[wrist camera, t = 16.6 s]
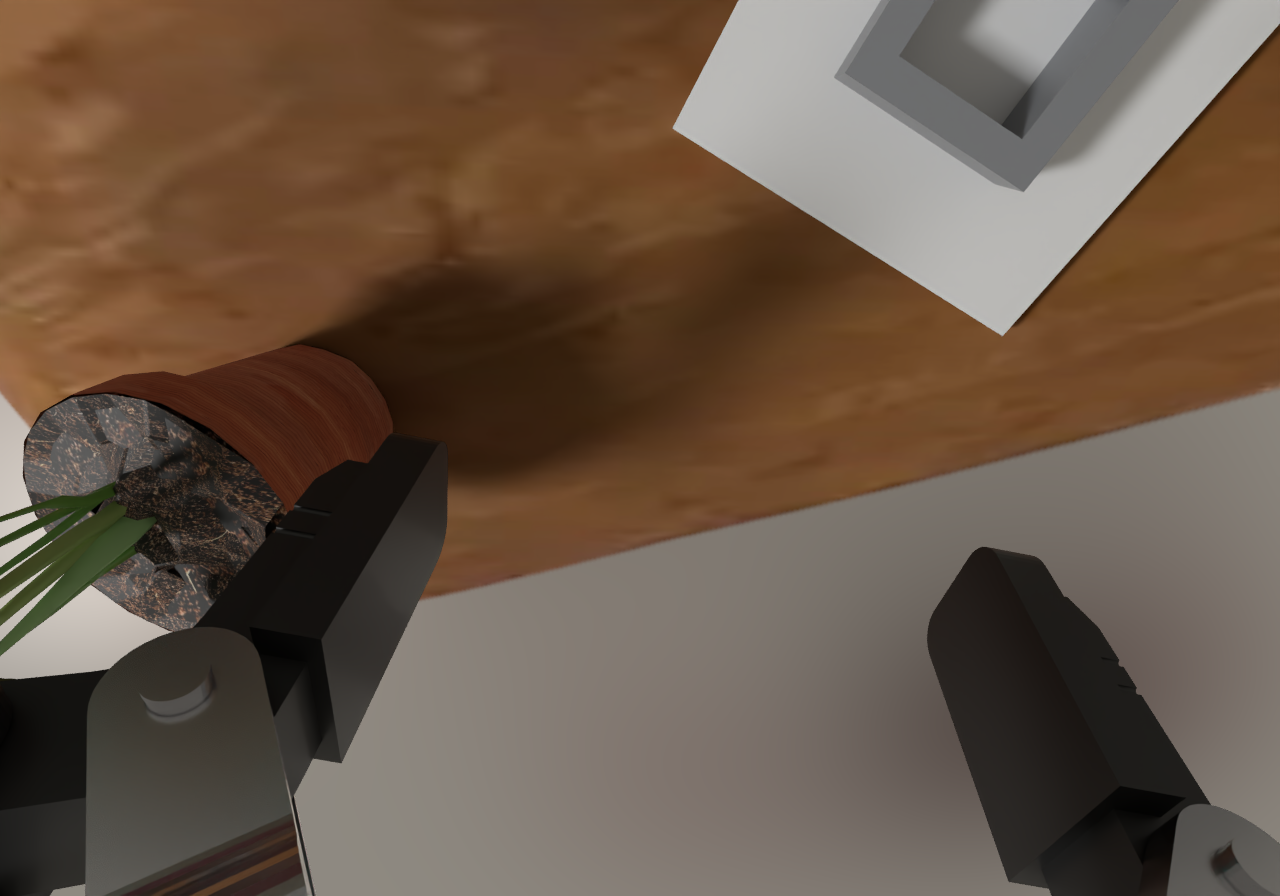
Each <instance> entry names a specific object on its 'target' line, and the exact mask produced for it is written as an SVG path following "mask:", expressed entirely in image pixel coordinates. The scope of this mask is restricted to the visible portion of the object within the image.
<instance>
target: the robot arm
mask: <svg viewBox="0 0 1280 896" xmlns="http://www.w3.org/2000/svg"><path fill="white" fill-rule="evenodd" d="M447 487H448V451H447V446H446V443H445V442H442V441H436V440H431V439H426V438H421V437H415V436H410V435H405V434H400V433H391V434H390V435H388V437H387V438H386V439H385V440H384V442H383V443H382V445H381V446H380V447H379V449H378V450H377V451H376V453H375V454H374V456H373V457H372V458H371V460H370V461H369V462H368V463H363V462H358V461H353V460H346V461H344V462H343V463H341V464H339V465H338V466H336V467H334V468H333V469H331V470H329V471H328V472H326V473H324V474H322V475H321V476H319V477H317V478H316V479H315V480H314V481H313V482H312V483H311V484H310V486H309V487H308V488H307V489H306V491H305V492H304V493H303V494H302V496H301V497H300V498H299V499H298V500H297V502H296V503H295V504H294V508H293V510H289V511H288V513H287V514H286V515H285V516H284V518H283V519H282V520H281V521H280V523H279V524H278V525H277V526H276V531H275V533H272V532H271V534H270V535H269V536H268V537H267V538H266V540H265V541H264V542H263V543H262V545H261V546H260V547H259V548H258V550H257V551H256V552H255V553H254V554H253V556H252V557H251V558H250V559H249V561H248V562H247V563H246V564H245V565H244V567H243V568H242V569H241V570H240V572H239V573H238V574H237V575H236V577H235V578H234V579H233V580H232V581H231V583H230V584H229V585H228V586H227V588H226V589H225V590H224V591H223V592H222V594H221V595H220V596H219V597H218V599H217V600H216V601H215V602H214V604H213V605H212V606H211V607H210V608H209V610H208V611H207V612H206V613H205V615H204V616H203V617H202V618H201V619H200V620H199V621H198V623H197V624H196V625H195V626H194V627H193V628H188V629H183V630H179V631H175V632H171V633H168V634H165V635H162V636H159V637H157V638H155V639H153V640H151V641H148V642H146V643H144V644H142V645H141V646H139V647H137V648H136V649H134V650H132V651H131V652H129V653H128V654H127V655H125V656H124V657H122V658H121V659H120V660H119V661H118V662H117V663H115V664H114V665H113V666H112V667H111V668H110V669H107V670H100V671H94V672H85V673H75V674H65V675H55V676H45V677H35V678H25V679H16V680H6V681H0V896H50V894H51V893H52V891H53V890H55V889H60V888H66V887H71V886H77V885H82V884H85V885H86V886H85V896H316V892H315V888H314V883H313V878H312V874H311V869H310V865H309V860H308V856H307V851H306V846H305V841H304V837H303V832H302V828H301V823H300V818H299V814H298V809H297V804H296V800H295V795H294V794H295V792H296V790H297V788H298V786H299V784H300V783H301V781H302V779H303V777H304V775H305V773H306V771H307V769H308V767H309V765H310V763H311V761H312V759H313V758H314V759H320V760H326V761H331V762H338V763H342V761H343V759H344V757H345V755H346V752H347V750H348V748H349V746H350V744H351V742H352V740H353V738H354V735H355V734H356V731H357V729H358V727H359V725H360V723H361V721H362V719H363V717H364V715H365V713H366V710H367V708H368V706H369V704H370V702H371V700H372V698H373V696H374V694H375V691H376V689H377V687H378V685H379V683H380V681H381V679H382V677H383V675H384V673H385V670H386V668H387V666H388V664H389V662H390V660H391V658H392V656H393V653H394V652H395V649H396V647H397V645H398V643H399V641H400V639H401V637H402V635H403V633H404V631H405V628H406V626H407V624H408V622H409V620H410V618H411V616H412V613H413V612H414V609H415V607H416V605H417V603H418V601H419V599H420V597H421V595H422V593H423V591H424V588H425V586H426V584H427V582H428V580H429V578H430V576H431V574H432V572H433V570H434V567H435V565H436V563H437V561H438V559H439V556H440V553H441V550H442V547H443V543H444V539H445V534H446V527H447ZM927 643H928V650H929V654H930V657H931V660H932V663H933V666H934V669H935V672H936V675H937V677H938V680H939V683H940V686H941V689H942V691H943V695H944V697H945V700H946V703H947V706H948V709H949V712H950V714H951V718H952V720H953V723H954V726H955V729H956V732H957V734H958V738H959V741H960V743H961V746H962V749H963V752H964V755H965V758H966V761H967V764H968V766H969V769H970V772H971V775H972V778H973V781H974V783H975V787H976V789H977V792H978V795H979V798H980V801H981V804H982V807H983V809H984V812H985V815H986V818H987V821H988V824H989V827H990V829H991V832H992V835H993V838H994V841H995V844H996V847H997V850H998V852H999V855H1000V858H1001V861H1002V864H1003V867H1004V870H1005V872H1006V876H1007V878H1008V881H1009V882H1014V883H1019V884H1025V885H1031V886H1036V887H1042V888H1048V889H1049V890H1050V893H1051V895H1052V896H1280V844H1279V843H1278V842H1277V841H1276V840H1275V839H1273V838H1272V837H1271V836H1270V835H1268V834H1267V833H1266V832H1264V831H1263V830H1261V829H1260V828H1259V827H1257V826H1256V825H1254V824H1253V823H1251V822H1249V821H1248V820H1246V819H1244V818H1243V817H1241V816H1239V815H1237V814H1235V813H1232V812H1231V811H1228V810H1226V809H1223V808H1220V807H1217V806H1212V805H1211V804H1210V803H1209V801H1208V800H1207V798H1206V796H1205V795H1204V793H1203V792H1202V790H1201V789H1200V787H1199V785H1198V784H1197V782H1196V781H1195V779H1194V777H1193V776H1192V774H1191V773H1190V771H1189V770H1188V768H1187V767H1186V765H1185V763H1184V762H1183V760H1182V758H1181V757H1180V755H1179V754H1178V752H1177V751H1176V749H1175V747H1174V746H1173V744H1172V743H1171V741H1170V740H1169V738H1168V736H1167V735H1166V733H1165V732H1164V730H1163V728H1162V727H1161V726H1160V724H1159V722H1158V721H1157V719H1156V717H1155V716H1154V714H1153V713H1152V711H1151V710H1150V708H1149V706H1148V705H1147V703H1146V702H1145V700H1144V699H1143V697H1142V695H1138V694H1136V686H1135V684H1134V683H1133V681H1132V680H1131V678H1130V677H1129V675H1128V673H1127V672H1126V670H1125V669H1124V667H1120V666H1119V665H1118V662H1119V659H1118V657H1117V656H1116V654H1115V653H1114V651H1113V650H1112V648H1111V646H1110V645H1109V643H1108V642H1107V640H1106V639H1105V637H1104V635H1103V634H1102V632H1101V631H1100V629H1099V628H1098V627H1097V626H1096V625H1095V624H1094V623H1093V622H1092V621H1091V620H1090V619H1089V618H1088V617H1087V616H1086V615H1085V614H1084V613H1083V612H1082V611H1081V610H1080V609H1079V608H1078V607H1077V606H1076V605H1075V604H1074V603H1073V602H1072V601H1070V599H1069V598H1068V597H1064V596H1063V594H1062V592H1061V591H1060V589H1059V588H1058V586H1057V584H1056V583H1055V581H1054V580H1053V578H1052V576H1051V574H1050V573H1049V571H1048V569H1047V568H1046V566H1045V565H1044V564H1043V562H1042V561H1041V560H1040V559H1038V558H1037V557H1035V556H1031V555H1025V554H1020V553H1015V552H1009V551H1004V550H999V549H994V548H988V547H981V548H978V549H977V550H975V551H974V552H973V553H972V554H971V555H970V557H969V558H968V560H967V561H966V563H965V564H964V566H963V567H962V569H961V571H960V572H959V574H958V575H957V577H956V578H955V580H954V581H953V583H952V585H951V586H950V588H949V589H948V590H947V592H946V594H945V595H944V597H943V598H942V600H941V601H940V603H939V604H938V606H937V607H936V609H935V611H934V612H933V614H932V616H931V619H930V622H929V626H928V634H927Z"/></svg>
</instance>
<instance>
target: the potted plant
mask: <svg viewBox="0 0 1280 896" xmlns="http://www.w3.org/2000/svg"><path fill="white" fill-rule="evenodd" d="M391 433H393V421H392V418H391V415H390V412H389V409H388V406H387V403H386V400H385V399H384V397H383V396H382V394H381V393H380V391H379V390H378V388H377V387H376V385H375V384H374V382H373V381H372V379H371V378H370V377H369V376H368V375H366V374H365V373H364V372H363V371H362V370H361V369H360V368H359V367H358V366H357V365H355V364H354V363H353V362H352V361H351V360H348V359H346V358H343V357H341V356H339V355H336V354H334V353H331V352H329V351H326V350H323V349H319V348H314V347H310V346H306V345H301V344H298V345H294V346H289V347H285V348H280V349H276V350H272V351H269V352H265V353H262V354H259V355H255V356H252V357H248V358H245V359H242V360H238V361H235V362H231V363H228V364H225V365H221V366H218V367H214V368H211V369H208V370H204V371H201V372H198V373H194V374H191V375H187V376H181V375H176V374H172V373H168V372H164V371H162V372H150V373H139V374H128V375H122V376H120V377H117V378H114V379H112V380H109V381H106V382H104V383H101V384H98V385H96V386H93V387H91V388H88V389H85V390H83V391H80V392H77V393H75V394H73V395H71V396H69V397H67V398H65V399H64V400H62V401H60V402H58V403H57V404H55V405H53V406H51V407H49V408H48V409H46V410H44V411H42V412H41V413H40V414H39V416H38V418H37V420H36V421H35V423H34V425H33V427H32V428H31V430H30V432H29V434H28V435H27V437H26V439H25V441H24V458H23V478H24V481H25V484H26V487H27V492H28V494H29V497H30V500H31V503H32V506H29V507H26V508H24V509H21V510H18V511H15V512H12V513H9V514H6V515H3V516H1V517H0V522H2V521H5V520H8V519H12V518H15V517H18V516H21V515H24V514H27V513H30V512H33V511H34V512H35V515H36V516H37V518H38V520H36V521H34V522H32V523H30V524H28V525H26V526H24V527H22V528H20V529H18V530H17V531H15V532H12V533H11V534H9V535H7V536H5V537H3V538H1V539H0V547H1V546H3V545H5V544H7V543H10V542H12V541H14V540H16V539H18V538H20V537H22V536H24V535H27V534H29V533H30V532H33V531H35V530H37V529H39V528H41V527H44V529H45V531H46V532H47V534H46V535H45V536H44V537H42V538H40V539H39V540H38V541H36V542H35V543H33V544H32V545H31V546H29V547H28V548H27V549H25V550H24V551H22V552H21V553H20V554H18V555H17V556H15V557H14V558H13V559H11V560H10V561H9V562H7V563H6V564H5V565H3V566H2V567H0V575H2V574H3V573H5V572H6V571H8V570H9V569H11V568H12V567H13V566H15V565H16V564H18V563H19V562H21V561H22V560H24V559H25V558H27V557H28V556H30V555H31V554H33V553H34V552H36V551H37V550H39V549H40V548H42V547H43V546H44V545H46V544H48V543H49V542H50V541H52V543H50V544H49V545H48V546H46V547H45V548H43V549H42V550H40V551H39V552H38V553H36V554H35V555H33V556H32V557H31V558H29V559H28V560H26V561H25V562H24V563H22V564H21V565H20V566H18V567H17V568H16V569H14V570H13V571H11V572H10V573H9V574H7V575H6V576H4V577H3V578H2V579H0V598H1V597H3V596H4V595H6V594H7V593H9V592H10V591H12V590H13V589H14V588H16V587H17V586H19V585H20V584H22V583H23V582H25V581H26V580H27V579H29V578H30V577H32V576H33V575H35V574H36V573H38V572H39V571H41V570H42V569H44V568H45V567H47V566H48V565H50V564H51V563H52V564H51V565H50V566H49V567H48V568H47V569H46V570H44V571H43V572H42V573H41V574H40V575H39V576H38V577H36V578H35V579H34V580H33V581H32V582H31V583H30V584H28V585H27V586H26V587H25V588H24V589H23V590H22V591H20V592H19V593H18V594H17V595H16V596H15V597H14V598H12V599H11V600H10V601H9V602H8V603H7V604H6V605H5V606H4V607H3V608H1V609H0V626H1V625H2V624H3V623H4V622H5V621H7V620H8V619H9V618H10V617H12V616H13V615H14V614H15V613H16V612H18V611H19V610H20V609H21V608H22V607H24V606H25V605H26V604H27V603H29V602H30V601H31V600H32V599H33V598H35V597H36V596H37V595H38V594H40V593H41V592H42V591H43V590H45V589H46V588H47V587H48V586H50V585H51V584H52V583H53V582H55V581H56V580H57V579H58V578H59V577H61V576H62V575H63V574H64V573H65V574H64V575H63V576H62V577H61V578H60V580H59V581H58V582H57V583H56V584H55V585H54V586H53V587H52V588H51V589H50V590H49V592H48V593H47V594H46V595H45V596H44V597H43V598H42V599H41V600H40V601H39V602H38V603H37V604H36V606H35V607H34V608H33V609H32V610H31V611H30V612H29V613H28V614H27V615H26V616H25V617H24V618H23V619H22V620H21V621H20V622H19V623H18V624H17V625H16V626H15V627H14V628H13V629H12V631H10V632H9V633H8V634H7V635H6V636H5V637H4V638H3V639H2V641H0V656H1V655H2V654H3V653H4V652H6V651H7V650H8V649H9V648H10V647H12V646H13V645H14V644H15V643H16V642H18V641H19V640H20V639H21V638H22V637H24V636H25V635H26V634H27V633H29V632H30V631H32V630H33V629H34V628H36V627H37V626H38V625H40V624H41V623H42V622H44V621H45V620H46V619H48V618H49V617H50V616H52V615H53V614H54V613H56V612H57V611H58V610H59V609H61V608H62V607H63V606H64V605H66V604H67V603H68V602H69V601H71V600H72V599H73V598H74V597H76V596H77V595H78V594H80V593H81V592H82V591H83V590H85V589H86V588H87V587H88V586H90V585H92V586H93V587H95V588H96V589H98V590H99V591H101V592H102V593H103V594H105V595H106V596H108V597H109V598H110V599H111V600H113V601H114V602H115V603H117V604H118V605H120V606H121V607H123V608H124V609H126V610H127V611H129V612H131V613H133V614H135V615H137V616H139V617H141V618H143V619H145V620H146V621H149V622H151V623H154V624H156V625H158V626H160V627H162V628H164V629H167V630H168V631H173V632H175V631H179V630H183V629H188V628H193V627H194V626H195V625H196V624H197V623H198V621H199V620H200V619H201V618H202V617H203V616H204V615H205V613H206V612H207V611H208V610H209V608H210V607H211V606H212V605H213V604H214V602H215V601H216V600H217V599H218V597H219V596H220V595H221V594H222V592H223V591H224V590H225V589H226V588H227V586H228V585H229V584H230V583H231V581H232V580H233V579H234V578H235V577H236V575H237V574H238V573H239V572H240V570H241V569H242V568H243V567H244V565H245V564H246V563H247V562H248V561H249V559H250V558H251V557H252V556H253V554H254V553H255V552H256V551H257V550H258V548H259V547H260V546H261V545H262V543H263V542H264V541H265V540H266V538H267V537H268V536H269V535H270V534H271V532H272V533H275V531H276V526H277V525H278V524H279V523H280V521H281V520H282V519H283V518H284V516H285V515H286V514H287V513H288V511H289V510H293V508H294V504H295V503H296V502H297V500H298V499H299V498H300V497H301V496H302V494H303V493H304V492H305V491H306V489H307V488H308V487H309V486H310V484H311V483H312V482H313V481H314V480H315V479H316V478H317V477H319V476H321V475H322V474H324V473H326V472H328V471H329V470H331V469H333V468H334V467H336V466H338V465H339V464H341V463H343V462H344V461H346V460H353V461H358V462H363V463H368V462H369V461H370V460H371V458H372V457H373V456H374V454H375V453H376V451H377V450H378V449H379V447H380V446H381V445H382V443H383V442H384V440H385V439H386V438H387V437H388V435H390V434H391ZM54 561H55V562H54ZM6 680H16V679H2V678H0V681H6Z"/></svg>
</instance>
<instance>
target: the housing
mask: <svg viewBox="0 0 1280 896" xmlns="http://www.w3.org/2000/svg"><path fill="white" fill-rule="evenodd" d="M1279 24H1280V0H739V1H738V3H737V5H736V7H735V9H734V10H733V12H732V14H731V16H730V18H729V20H728V22H727V24H726V26H725V28H724V30H723V32H722V34H721V36H720V38H719V39H718V41H717V43H716V45H715V47H714V49H713V51H712V53H711V55H710V57H709V59H708V61H707V63H706V65H705V67H704V68H703V70H702V72H701V74H700V76H699V78H698V80H697V82H696V84H695V86H694V88H693V90H692V92H691V94H690V96H689V98H688V99H687V101H686V103H685V105H684V107H683V109H682V111H681V113H680V115H679V117H678V119H677V121H676V123H675V125H674V127H673V129H674V130H676V131H677V132H679V133H681V134H682V135H684V136H685V137H687V138H689V139H690V140H692V141H693V142H695V143H696V144H698V145H700V146H701V147H703V148H704V149H706V150H708V151H709V152H711V153H712V154H714V155H716V156H717V157H719V158H720V159H722V160H724V161H725V162H727V163H728V164H730V165H731V166H733V167H735V168H736V169H738V170H739V171H741V172H743V173H744V174H746V175H747V176H749V177H751V178H752V179H754V180H755V181H757V182H758V183H760V184H762V185H763V186H765V187H766V188H768V189H770V190H771V191H773V192H774V193H776V194H778V195H779V196H781V197H782V198H784V199H786V200H787V201H789V202H790V203H792V204H793V205H795V206H797V207H798V208H800V209H801V210H803V211H805V212H806V213H808V214H809V215H811V216H813V217H814V218H816V219H817V220H819V221H820V222H822V223H824V224H825V225H827V226H828V227H830V228H832V229H833V230H835V231H836V232H838V233H840V234H841V235H843V236H844V237H846V238H847V239H849V240H851V241H852V242H854V243H855V244H857V245H859V246H860V247H862V248H863V249H865V250H867V251H868V252H870V253H871V254H873V255H875V256H876V257H878V258H879V259H881V260H882V261H884V262H886V263H887V264H889V265H890V266H892V267H894V268H895V269H897V270H898V271H900V272H902V273H903V274H905V275H906V276H908V277H909V278H911V279H913V280H914V281H916V282H917V283H919V284H921V285H922V286H924V287H925V288H927V289H929V290H930V291H932V292H933V293H935V294H937V295H938V296H940V297H941V298H943V299H944V300H946V301H948V302H949V303H951V304H952V305H954V306H956V307H957V308H959V309H960V310H962V311H964V312H965V313H967V314H968V315H970V316H971V317H973V318H975V319H976V320H978V321H979V322H981V323H983V324H984V325H986V326H987V327H989V328H991V329H992V330H994V331H995V332H997V333H999V334H1000V335H1002V336H1003V335H1004V334H1005V333H1006V332H1007V331H1008V329H1009V328H1010V327H1011V326H1012V325H1013V324H1014V323H1015V322H1016V320H1017V319H1018V318H1019V317H1020V316H1021V315H1022V314H1023V313H1024V311H1025V310H1026V309H1027V308H1028V307H1029V306H1030V305H1031V304H1032V302H1033V301H1034V300H1035V299H1036V298H1037V297H1038V296H1039V295H1040V293H1041V292H1042V291H1043V290H1044V289H1045V288H1046V287H1047V286H1048V284H1049V283H1050V282H1051V281H1052V280H1053V279H1054V278H1055V276H1056V275H1057V274H1058V273H1059V272H1060V271H1061V270H1062V269H1063V267H1064V266H1065V265H1066V264H1067V263H1068V262H1069V261H1070V260H1071V258H1072V257H1073V256H1074V255H1075V254H1076V253H1077V252H1078V251H1079V249H1080V248H1081V247H1082V246H1083V245H1084V244H1085V243H1086V242H1087V240H1088V239H1089V238H1090V237H1091V236H1092V235H1093V234H1094V233H1095V231H1096V230H1097V229H1098V228H1099V227H1100V226H1101V225H1102V223H1103V222H1104V221H1105V220H1106V219H1107V218H1108V217H1109V216H1110V214H1111V213H1112V212H1113V211H1114V210H1115V209H1116V208H1117V207H1118V205H1119V204H1120V203H1121V202H1122V201H1123V200H1124V199H1125V198H1126V196H1127V195H1128V194H1129V193H1130V192H1131V191H1132V190H1133V189H1134V187H1135V186H1136V185H1137V184H1138V183H1139V182H1140V181H1141V180H1142V178H1143V177H1144V176H1145V175H1146V174H1147V173H1148V172H1149V170H1150V169H1151V168H1152V167H1153V166H1154V165H1155V164H1156V163H1157V161H1158V160H1159V159H1160V158H1161V157H1162V156H1163V155H1164V154H1165V152H1166V151H1167V150H1168V149H1169V148H1170V147H1171V146H1172V145H1173V143H1174V142H1175V141H1176V140H1177V139H1178V138H1179V137H1180V136H1181V134H1182V133H1183V132H1184V131H1185V130H1186V129H1187V128H1188V126H1189V125H1190V124H1191V123H1192V122H1193V121H1194V120H1195V119H1196V117H1197V116H1198V115H1199V114H1200V113H1201V112H1202V111H1203V110H1204V108H1205V107H1206V106H1207V105H1208V104H1209V103H1210V102H1211V101H1212V99H1213V98H1214V97H1215V96H1216V95H1217V94H1218V93H1219V92H1220V90H1221V89H1222V88H1223V87H1224V86H1225V85H1226V84H1227V83H1228V81H1229V80H1230V79H1231V78H1232V77H1233V76H1234V75H1235V73H1236V72H1237V71H1238V70H1239V69H1240V68H1241V67H1242V66H1243V64H1244V63H1245V62H1246V61H1247V60H1248V59H1249V58H1250V57H1251V55H1252V54H1253V53H1254V52H1255V51H1256V50H1257V49H1258V48H1259V46H1260V45H1261V44H1262V43H1263V42H1264V41H1265V40H1266V39H1267V37H1268V36H1269V35H1270V34H1271V33H1272V32H1273V31H1274V30H1275V28H1276V27H1277V26H1278V25H1279Z"/></svg>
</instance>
